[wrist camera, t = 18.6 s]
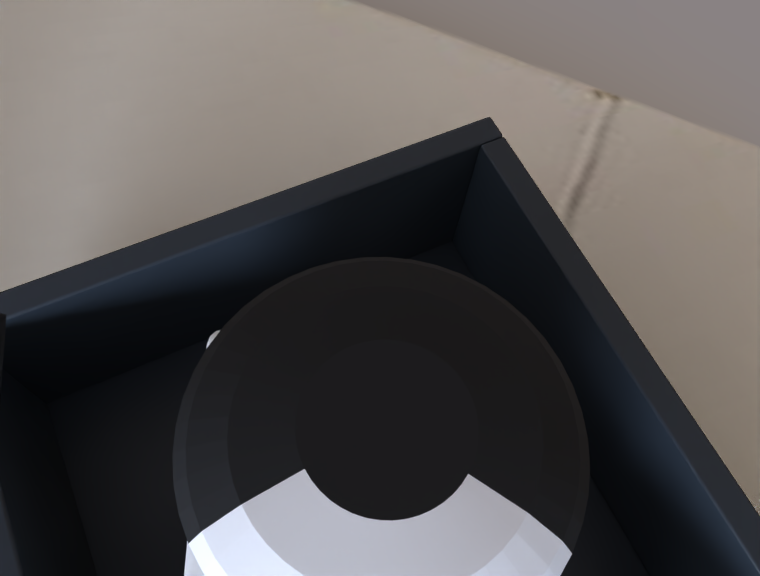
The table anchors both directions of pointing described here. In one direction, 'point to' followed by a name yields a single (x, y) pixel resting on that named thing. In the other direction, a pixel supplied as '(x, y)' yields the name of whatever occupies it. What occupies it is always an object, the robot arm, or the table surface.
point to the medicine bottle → (380, 433)
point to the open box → (289, 257)
